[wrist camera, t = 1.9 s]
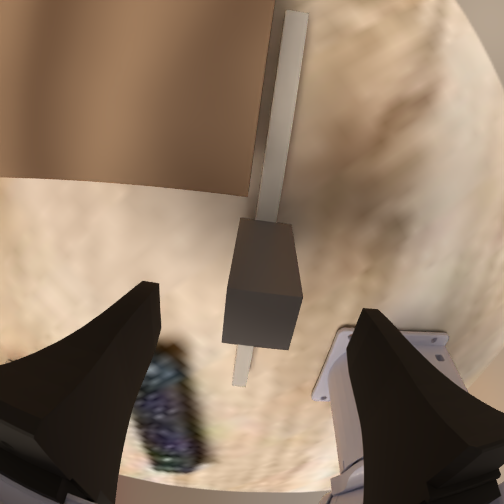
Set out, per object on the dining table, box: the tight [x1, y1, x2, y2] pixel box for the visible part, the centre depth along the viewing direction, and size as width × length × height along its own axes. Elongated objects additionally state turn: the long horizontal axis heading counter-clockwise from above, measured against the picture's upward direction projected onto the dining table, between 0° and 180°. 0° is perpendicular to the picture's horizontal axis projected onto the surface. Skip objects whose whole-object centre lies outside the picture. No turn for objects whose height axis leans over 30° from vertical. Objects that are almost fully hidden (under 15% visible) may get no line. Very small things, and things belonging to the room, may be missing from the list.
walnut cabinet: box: [0, 0, 275, 197], centre depth 10 cm, size 14×10×6 cm
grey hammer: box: [222, 10, 309, 387], centre depth 15 cm, size 2×23×8 cm, turn 173°
